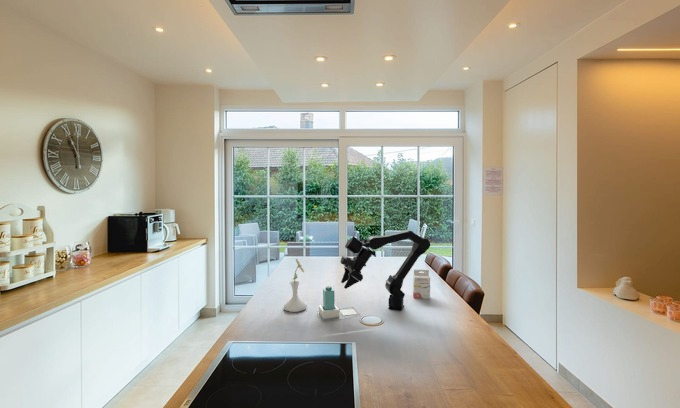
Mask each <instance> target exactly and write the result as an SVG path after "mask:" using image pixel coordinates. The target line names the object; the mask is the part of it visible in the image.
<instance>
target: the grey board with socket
mask: <svg viewBox="0 0 680 408" xmlns="http://www.w3.org/2000/svg"><path fill="white" fill-rule="evenodd" d="M315 312H316V314H317V316H318V318H319V319H320V321H321V322H329V321H334V320H336V321H337V320H344V319H351V318H358V317H359V318H360V317H362V314H361V313H359V312H358V310H356V308H355V307H354V306H350V307H349V306H348V307H340V308H339V307H338V306H337V305H336V304H335V309H333V310H324V309H323V304H322V305H321V304H320V305H318V310H315Z"/></svg>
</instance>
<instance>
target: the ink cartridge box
mask: <svg viewBox="0 0 680 408" xmlns="http://www.w3.org/2000/svg"><path fill="white" fill-rule="evenodd" d="M429 273H430V271H429V269H413V282H412V283H413V284H412V285H413V286H412V289H413V290H412V296H413V298H414V299H428V300H429V299H431V276H430V274H429Z"/></svg>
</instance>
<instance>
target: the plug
mask: <svg viewBox="0 0 680 408" xmlns="http://www.w3.org/2000/svg"><path fill="white" fill-rule="evenodd" d="M335 297H336V296H335V290H334V288H333V287H332V286H326V287H325V288H322V302H323V304H322V305H323V309H324V310H333V309H335V305H336V304H335Z"/></svg>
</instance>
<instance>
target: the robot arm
mask: <svg viewBox="0 0 680 408" xmlns="http://www.w3.org/2000/svg"><path fill="white" fill-rule="evenodd" d="M405 240H410V241H411V242H413V243H412V246H411V250H410V252H409V254H408V256H407V257H406V258H405V260H404V261H403V263H402V264H401V265H400V267H399V269H398V270H397V272H396V273H395V274H394V275H391V274H390V275H389V276H388V277H387V280H385V285H384V286H385V289H386V290H387V292H388V293H389V298H388V309H389V310H396V311H402V310H403V309H404V307H405V304H404V298H405V292H404V291H402V287H403V284H404V280H405V278H406V276H407V275H408V274H409V272H410V271H411V270H412V268H413V266H414V265H415V263H416V262H417V260H418V259H419V258H420V256H422V255H423V254H425V253H426V252H427V251H428V250H429V249H430V247H431V242H430V240H429V239H428V238H425V237H423V236H420V235H418V234H416V233H415V232H414V231H412V230H411V229H410V230H409V229H406V230H404V231H399V232H395V233H391V234H390V233H389V234H385V235H371V236H368V237H367V239H364V240H361V241H360V240H359V239H358V238H357V237H355V236H354V235H352V237H351V238H349V239H348V240H347V241H346V243H345V246H344V248H345V249H347V250H348V251H350V252H352V253H353V254H354V255H355V254H356V256H353V258H351V257H349V256H344V255H342V256H341V258H340V264H341V265H343V269H344V273H343V275H342V278H341V281H340V282H341V284H344V283H345V284H344V287H343V288H344V289H346V290H347V289H349V288H350V287H352V286H354V285H355V284H358V283H360V282H362V280H364V275H363V274H362V269H363V268H365V267H367V263H368V261H369V259H370V258H371V257H372V256H373V257H374V258H376V257H377V254H376V251H375V250H378V249H380V248H383V247H384V246H385V245H387V244H388V245H389V244H394V243H396V242H401V241H405Z"/></svg>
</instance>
